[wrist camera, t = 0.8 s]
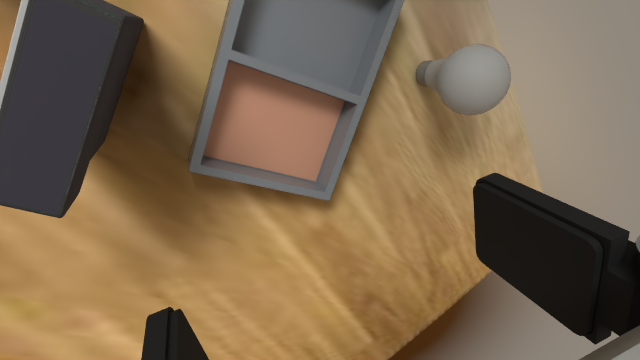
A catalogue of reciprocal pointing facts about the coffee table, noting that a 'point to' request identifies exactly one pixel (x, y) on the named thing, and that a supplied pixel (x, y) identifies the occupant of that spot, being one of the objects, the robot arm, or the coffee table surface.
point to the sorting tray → (290, 91)
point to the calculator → (59, 97)
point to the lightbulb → (468, 78)
